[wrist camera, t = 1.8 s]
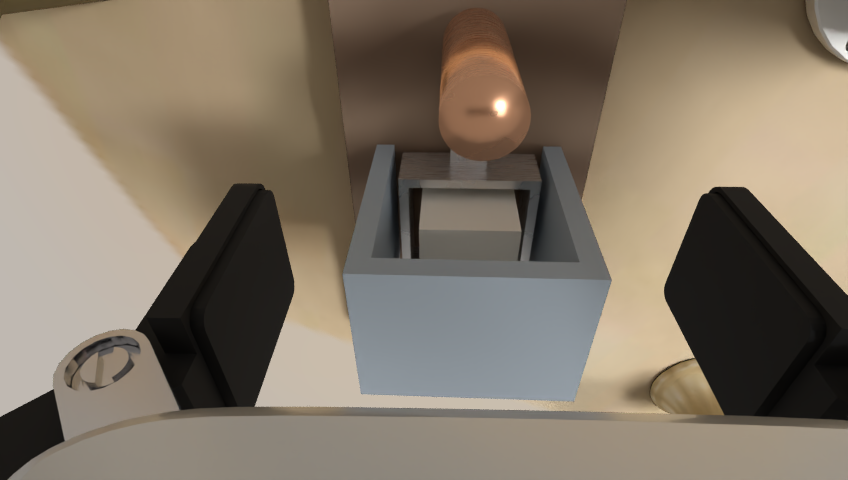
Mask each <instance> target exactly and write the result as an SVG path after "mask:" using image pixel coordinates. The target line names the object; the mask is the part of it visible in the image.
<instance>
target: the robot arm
mask: <svg viewBox="0 0 848 480" xmlns="http://www.w3.org/2000/svg"><path fill="white" fill-rule="evenodd" d="M805 2H806V11H807V17H808V20H809V22H810V25H811V27H812V30H813V32H814V35H815V36H816V37H817V39H818V40H819V41H820V42H821V44H822V45H823V46H824V47H825V49H826V50H828V51H829V52H831V53H832V54H834V55H835V56H836V57H838V58H839V59H841V60H843V61H845V62H847V63H848V0H805ZM293 294H294V278H293V274H292V270H291V265H290V261H289V257H288V253H287V249H286V244H285V240H284V236H283V232H282V228H281V224H280V219H279V215H278V211H277V207H276V203H275V199H274V195H273V193H272V191H270V190H265V188H264V186H263V185H262V184H234V185H233V186H232V187H231V189H230V190H229V192H228V193H227V195H226V196H225V198H224V200H223V201H222V203H221V204H220V206H219V207H218V209H217V210H216V212H215V213H214V215H213V216H212V218H211V219H210V221H209V222H208V224H207V225H206V227H205V229H204V230H203V232H202V233H201V235H200V236H199V238H198V239H197V241H196V242H195V243H194V244H193V245H192V246H191V247H190V248H189V250H188V251H187V253H186V254H185V256H184V257H183V259H182V260H181V262H180V263H179V265H178V267H177V268H176V270H175V271H174V273H173V274H172V276H171V277H170V279H169V280H168V282H167V283H166V285H165V286H164V288H163V289H162V291H161V292H160V294H159V295H158V297H157V298H156V300H155V302H154V303H153V304H152V306H151V307H150V309H149V311H148V312H147V314H146V315H145V316H144V318H143V320H142V321H141V323H140V324H139V326H138V327H137V329H136V330H128V329H119V330H113V331H108V332H105V333H102V334H99V335H96V336H94V337H92V338H90V339H88V340H86V341H84V342H82V343H81V344H80V345H78V346H77V347H75V348H74V349H73V350H72V351H70V352H69V353H68V354H67V355H66V356H65V357H64V359H63V360H62V361H61V362H60V363H59V365H58V367H57V369H56V371H55V373H54V375H53V388H54V389H53V390H51V391H49V392H47V393H46V394H43V395H42V396H40V397H38V398H36V399H34V400H32V401H30V402H28V403H26V404H24V405H23V406H21V407H18V408H17V409H15V410H13V411H11V412H9V413H7V414H5V415H3V416H1V417H0V480H848V295H847V294H846V293H845V292H844V291H843V290H842V289H841V288H840V287H839V286H838V285H837V284H836V283H835V282H834V281H833V279H832V278H831V277H830V276H829V275H828V274H827V273H826V272H825V271H824V270H823V269H822V268H821V267H820V266H819V265H818V263H817V262H816V261H815V260H814V259H813V258H812V257H811V256H810V255H809V254H808V253H807V252H806V251H805V250H804V249H803V248H802V246H801V245H800V244H799V243H798V242H797V241H796V240H795V239H794V238H793V237H792V236H791V235H790V234H789V233H788V232H787V230H786V229H785V228H784V227H783V226H782V225H781V224H780V223H779V222H778V221H777V220H776V219H775V218H774V217H773V216H772V214H771V213H770V212H769V211H768V210H767V209H766V208H765V207H764V206H763V205H762V204H761V203H760V202H759V201H758V200H757V198H756V197H755V196H754V195H753V194H752V193H751V192H750V191H749V190H748V189H746V188H744V187H714V188H712V189H711V190H710V191H709V193H708V194H703V195H702V196H701V198H700V200H699V202H698V204H697V207H696V209H695V212H694V214H693V217H692V219H691V222H690V224H689V227H688V229H687V232H686V234H685V236H684V239H683V241H682V244H681V246H680V249H679V251H678V254H677V256H676V259H675V261H674V264H673V266H672V269H671V271H670V274H669V276H668V278H667V281H666V283H665V287H664V295H665V299H666V302H667V304H668V306H669V308H670V310H671V312H672V314H673V316H674V317H675V319H676V321H677V323H678V325H679V327H680V329H681V331H682V333H683V335H684V337H685V339H686V341H687V343H688V345H689V347H690V349H691V351H692V353H693V355H694V357H695V359H696V361H697V363H698V364H699V366H700V368H701V370H702V372H703V374H704V376H705V378H706V380H707V382H708V384H709V386H710V388H711V390H712V392H713V394H714V396H715V398H716V400H717V402H718V404H719V406H720V408H721V409H722V411H723V413H724V415H694V414H656V413H618V412H574V411H529V410H480V409H424V408H363V407H361V408H360V407H255V403H256V401H257V398H258V395H259V392H260V389H261V386H262V384H263V381H264V378H265V375H266V372H267V369H268V366H269V363H270V360H271V358H272V355H273V352H274V349H275V346H276V343H277V340H278V337H279V335H280V332H281V329H282V326H283V323H284V320H285V317H286V314H287V312H288V309H289V306H290V303H291V300H292V297H293Z"/></svg>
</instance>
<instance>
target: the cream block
mask: <svg viewBox="0 0 848 480" xmlns="http://www.w3.org/2000/svg"><path fill="white" fill-rule="evenodd" d="M521 232H522V231H521V226H520V220H519V215H518V210H517V204H516V199H515V193H514V189H459V188H423V190H422V201H421V212H420V222H419V259H444V260H490V261H517V260H518V253H519V246H520V239H521Z"/></svg>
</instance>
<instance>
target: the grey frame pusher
mask: <svg viewBox="0 0 848 480" xmlns="http://www.w3.org/2000/svg"><path fill="white" fill-rule="evenodd" d="M530 122H531V110H530V105H529V102H528V98H527V95H526V92H525V89H524V86H523V83H522V79H521V76H520V73H519V70H518V67H517V64H516V60H515V57H514V54H513V51H512V48H511V45H510V41H509V38H508V35H507V32H506V29H505V26H504V24H503V22H502V21H501V19H500V18H499V17H498V16H497V15H496V14H494V13H493V12H491V11H490V10H487V9H484V8H470V9H466V10H463V11H462V12H460V13H458V14H457V15H456V16H454V17H453V18H452V20H451V21H450V22H449V24H448V25H447V27H446V29H445V32H444V36H443V48H442V66H441V84H440V102H439V129H440V133H441V135H442V138H443V140H444V141H445V143H446V144H447V146H448V147H449V148H450V149H451V151H450V153H437V152H403V155H402V161H401V167H400V172H399V178H398V183H399V203H400V223H401V242H402V259H419V247H415V245H414V211H413V188H459V189H520V196H519V204H518V215H519V220H520V226H521V231H522V232H521V239H520V246H519V253H518V260H517V261H529V258H530V252H531V245H532V239H533V233H534V227H535V221H536V215H537V208H538V202H539V196H540V190H541V184H542V180H541V177H540V173H539V169H538V166H537V162H536V159H535V155H534V154H518V153H510V152H512V151H513V150H514V149H516V148H517V147H518V146H519V145H520V143H521V142H522V141H523V139H524V138H525V136H526V134H527V132H528V129H529V126H530Z"/></svg>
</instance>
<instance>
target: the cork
mask: <svg viewBox="0 0 848 480" xmlns="http://www.w3.org/2000/svg"><path fill="white" fill-rule="evenodd" d="M98 1H106V0H0V18H1V16H2V15H3V14H10V13H17V12H25V11H32V10H40V9H47V8H54V7H62V6H69V5H76V4H84V3H91V2H98Z"/></svg>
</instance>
